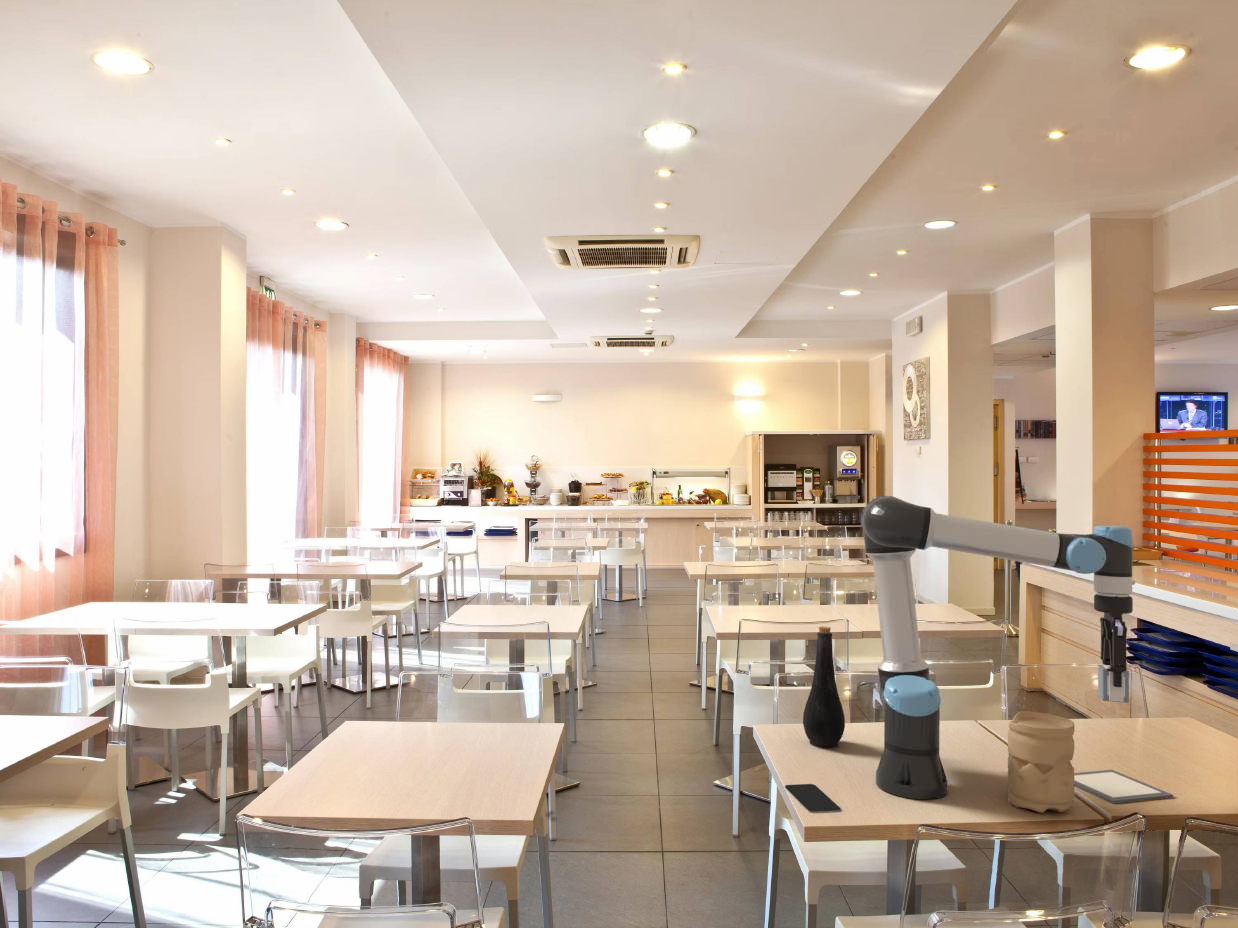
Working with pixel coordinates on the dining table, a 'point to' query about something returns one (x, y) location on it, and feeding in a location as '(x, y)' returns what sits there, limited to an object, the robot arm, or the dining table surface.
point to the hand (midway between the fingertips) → (1113, 697)
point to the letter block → (1104, 683)
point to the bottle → (824, 698)
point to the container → (1040, 762)
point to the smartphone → (812, 798)
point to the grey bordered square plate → (1117, 787)
